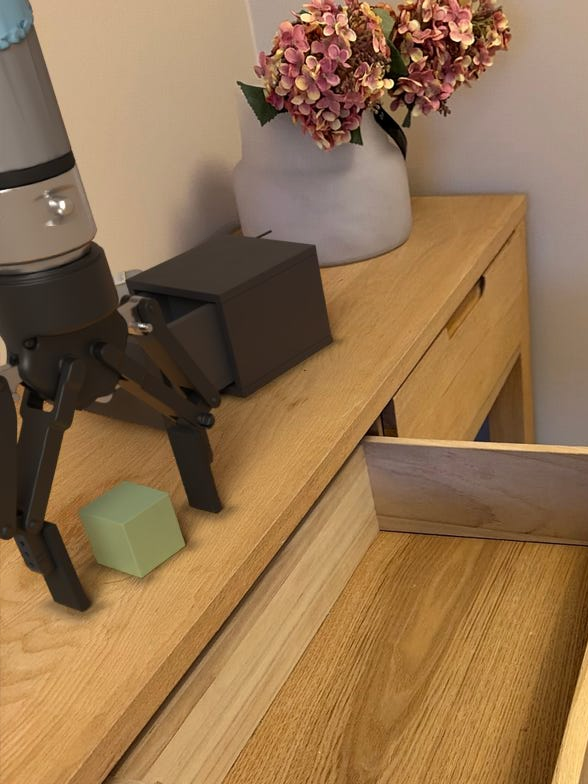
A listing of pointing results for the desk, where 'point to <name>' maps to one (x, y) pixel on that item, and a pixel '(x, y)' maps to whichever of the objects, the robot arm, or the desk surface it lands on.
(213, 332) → the drawer
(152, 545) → the block
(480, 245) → the desk surface
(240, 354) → the cabinet
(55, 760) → the desk surface
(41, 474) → the robot arm
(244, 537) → the desk surface
